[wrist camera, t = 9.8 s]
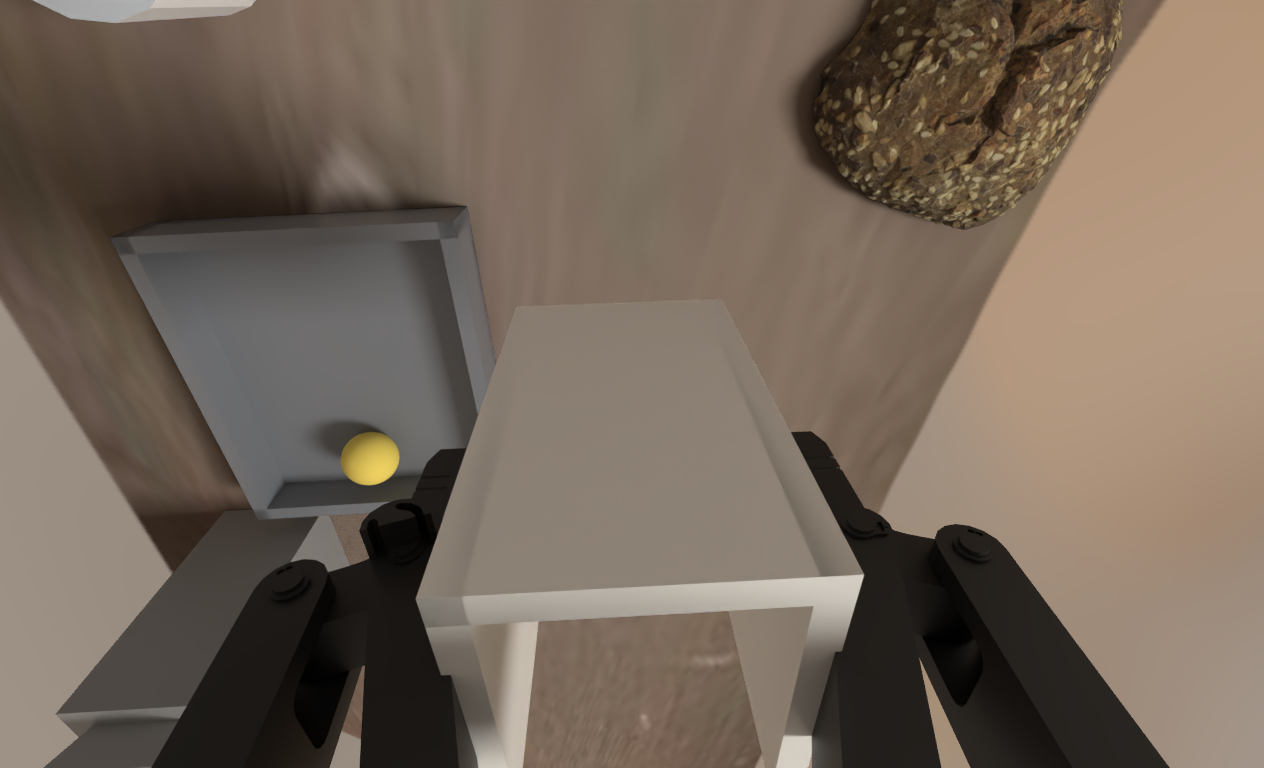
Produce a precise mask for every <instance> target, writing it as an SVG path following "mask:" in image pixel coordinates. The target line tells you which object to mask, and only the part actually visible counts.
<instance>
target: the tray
mask: <svg viewBox="0 0 1264 768" xmlns="http://www.w3.org/2000/svg"><path fill="white" fill-rule="evenodd" d="M110 239H111V241H112V243H113V245H114V247H115V249H116V251H117V253H118V255H119V256H120V258H121V260H122V262H123V264H124V266H125V268H126V270H127V272H128V273H129V275H130V277H131V279H132V281H133V283H134V285H135V287H136V289H137V291H138V292H139V294H140V296H141V298H142V300H143V302H144V304H145V306H146V308H147V310H148V311H149V313H150V315H151V317H152V319H153V321H154V323H155V325H156V327H157V329H158V330H159V332H160V334H161V336H162V338H163V340H164V342H165V344H166V346H167V348H168V349H169V351H170V353H171V355H172V357H173V359H174V361H175V363H176V365H177V367H178V368H179V370H180V372H181V374H182V376H183V378H184V380H185V382H186V384H187V385H188V387H189V389H190V391H191V393H192V395H193V397H194V399H195V401H196V403H197V404H198V406H199V408H200V410H201V412H202V414H203V416H204V418H205V420H206V422H207V423H208V425H209V427H210V429H211V431H212V433H213V435H214V437H215V439H216V441H217V442H218V444H219V446H220V448H221V450H222V452H223V454H224V456H225V458H226V460H227V461H228V463H229V465H230V467H231V469H232V471H233V473H234V475H235V477H236V479H237V480H238V482H239V484H240V486H241V488H242V490H243V492H244V494H245V496H246V498H247V499H248V501H249V503H250V505H251V507H252V509H253V511H254V513H255V515H256V516H257V518H258V520H263V519H279V518H295V517H311V516H327V515H343V514H359V513H371V512H372V511H374V510H375V509H377V508H378V507H380V506H381V505H383V504H386V503H389V502H392V501H394V500H400V499H408V498H409V499H411V498H412V496H413V493H414V491H416V486H417V484H418V482H419V479H421V475H422V473H423V470H424V468H425V466H426V463H427V462H428V461H429V460H430V459H431V458H432V457H433V456H434V455H435V454H436V453H437V452H438V451H439V450H440V449H458V448H467V446H468V443H469V440H470V438H471V435H472V432H473V429H474V426H475V423H476V420H477V417H478V414H479V411H480V408H481V406H482V403H483V400H484V397H485V394H486V391H487V388H488V385H489V382H490V379H491V376H492V374H493V371H494V368H495V365H496V360H495V355H494V350H493V344H492V339H491V333H490V328H489V323H488V317H487V312H486V306H485V301H484V296H483V290H482V285H481V279H480V274H479V269H478V263H477V258H476V252H475V247H474V241H473V236H472V231H471V225H470V220H469V214H468V209H467V206H466V207H445V208H424V209H403V210H382V211H361V212H340V213H319V214H298V215H277V216H256V217H235V218H214V219H193V220H172V221H155V222H152V223H149V224H147V225H144V226H141V227H138V228H136V229H133V230H130V231H127V232H124V233H122V234H119V235H116V236H113V237H111V238H110ZM365 432H378V433H382V434H384V435H386V436H388V437H389V438H391V439H392V440H393V441H394V442H395V444H396V445H397V447H398V450H399V456H400V457H399V464H398V467H397V469H396V471H395V472H394V473H393V475H392V476H391V477H390V478H388V479H387V480H385V481H384V482H382V483H379V484H375V485H361V484H358V483H355V482H354V481H352V480H351V479H349V478H348V477H347V476H346V474H345V473H344V471H343V469H342V466H341V454H342V451H343V449H344V447H345V445H346V444H347V443H348V442H349V441H350V440H351V439H352V438H354V437H355V436H357V435H359V434H362V433H365Z"/></svg>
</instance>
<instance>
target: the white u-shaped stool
mask: <svg viewBox="0 0 1264 768" xmlns="http://www.w3.org/2000/svg"><path fill="white" fill-rule="evenodd" d="M863 577H864V573H863V571H862V569H861V568H860V566H859V564H858V562H857V560H856V558H855V556H854V554H853V552H852V550H851V548H850V546H849V544H848V542H847V540H846V538H845V537H844V535H843V533H842V531H841V529H840V527H839V525H838V523H837V521H836V519H835V517H834V515H833V513H832V511H831V509H830V507H829V506H828V504H827V502H826V500H825V498H824V496H823V494H822V492H821V490H820V488H819V486H818V484H817V482H816V480H815V478H814V476H813V475H812V473H811V471H810V469H809V467H808V465H807V463H806V461H805V459H804V457H803V455H802V453H801V451H800V449H799V447H798V445H797V444H796V442H795V440H794V438H793V436H792V434H791V432H790V430H789V428H788V426H787V424H786V422H785V420H784V418H783V416H782V414H781V413H780V411H779V409H778V407H777V405H776V403H775V401H774V399H773V397H772V395H771V393H770V391H769V389H768V387H767V385H766V384H765V382H764V380H763V378H762V376H761V374H760V372H759V370H758V368H757V366H756V364H755V362H754V360H753V358H752V356H751V354H750V353H749V351H748V349H747V347H746V345H745V343H744V341H743V339H742V337H741V335H740V333H739V331H738V329H737V327H736V325H735V323H734V322H733V320H732V318H731V316H730V314H729V312H728V310H727V308H726V306H725V304H724V302H723V300H722V299H706V300H678V301H651V302H623V303H595V304H567V305H540V306H516V308H515V311H514V314H513V317H512V320H511V323H510V325H509V328H508V331H507V334H506V337H505V340H504V343H503V346H502V349H501V352H500V355H499V357H498V360H497V363H496V366H495V369H494V372H493V375H492V378H491V381H490V384H489V387H488V390H487V392H486V395H485V398H484V401H483V404H482V407H481V410H480V413H479V416H478V419H477V422H476V425H475V427H474V430H473V433H472V436H471V439H470V442H469V445H468V448H467V451H466V454H465V457H464V459H463V462H462V465H461V468H460V471H459V474H458V477H457V480H456V483H455V486H454V489H453V492H452V494H451V497H450V500H449V503H448V506H447V509H446V512H445V515H444V518H443V521H442V524H441V526H440V529H439V532H438V535H437V538H436V541H435V544H434V547H433V550H432V553H431V556H430V559H429V561H428V564H427V567H426V570H425V573H424V576H423V579H422V582H421V585H420V588H419V591H418V593H417V596H416V602H417V605H418V608H419V611H420V614H421V617H422V620H423V623H424V626H425V629H426V632H427V635H428V638H429V641H430V644H431V647H432V650H433V653H434V656H435V659H436V662H437V665H438V668H439V671H440V674H441V675H451V677H452V680H453V683H454V686H455V690H456V693H457V696H458V699H459V702H460V705H461V708H462V712H463V715H464V718H465V721H466V724H467V727H468V731H469V734H470V737H471V740H472V743H473V746H474V749H475V753H476V756H477V760H478V768H523V759H524V749H525V740H526V731H527V722H528V713H529V704H530V695H531V686H532V676H533V667H534V658H535V649H536V640H537V631H538V622H539V621H556V620H574V619H592V618H609V617H627V616H645V615H663V614H681V613H699V612H716V611H729V615H730V619H731V623H732V628H733V632H734V636H735V640H736V645H737V649H738V653H739V658H740V662H741V666H742V670H743V675H744V679H745V683H746V687H747V692H748V696H749V700H750V704H751V709H752V713H753V717H754V721H755V726H756V730H757V734H758V738H759V743H760V747H761V751H762V755H763V760H764V764H765V768H808V765H809V762H810V759H811V755H812V733H813V729H814V726H815V722H816V718H817V715H818V711H819V708H820V704H821V701H822V697H823V694H824V690H825V687H826V683H827V679H828V676H829V672H830V669H831V665H832V662H833V658H834V655H835V652H840V651H842V649H843V645H844V642H845V639H846V635H847V632H848V628H849V625H850V621H851V618H852V615H853V611H854V608H855V604H856V601H857V598H858V594H859V591H860V587H861V584H862V580H863Z"/></svg>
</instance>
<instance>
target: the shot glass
mask: <svg viewBox="0 0 1264 768" xmlns="http://www.w3.org/2000/svg"><path fill="white" fill-rule="evenodd" d="M33 1H35V2H37V3H39V4H41V5H43V6H45V7H48V8H50V9H52V10H54V11H56V12H58V13H60V14H62V15H64V16H66V17H69V18H71V19H81V20H91V21H101V22H111V23H121V22H136V21H152V20H167V19H182V18H197V17H212V16H228V15H231V14H233V13H236V12H238V11H241V10H243V9H246V8H248V7H250V6H252V4H253V3H254V2H255V0H33Z"/></svg>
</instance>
